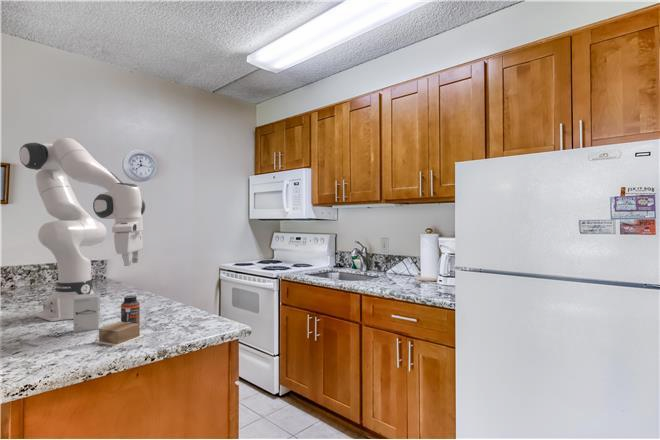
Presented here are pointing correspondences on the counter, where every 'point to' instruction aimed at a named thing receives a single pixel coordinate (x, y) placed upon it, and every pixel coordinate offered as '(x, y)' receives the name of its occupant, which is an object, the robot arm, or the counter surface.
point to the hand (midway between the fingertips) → (131, 264)
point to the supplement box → (86, 312)
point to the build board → (118, 344)
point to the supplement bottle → (130, 310)
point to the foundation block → (119, 332)
